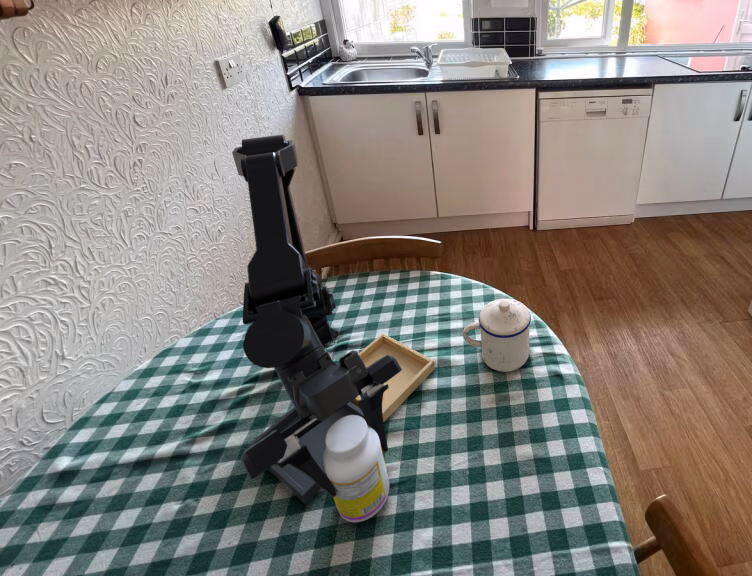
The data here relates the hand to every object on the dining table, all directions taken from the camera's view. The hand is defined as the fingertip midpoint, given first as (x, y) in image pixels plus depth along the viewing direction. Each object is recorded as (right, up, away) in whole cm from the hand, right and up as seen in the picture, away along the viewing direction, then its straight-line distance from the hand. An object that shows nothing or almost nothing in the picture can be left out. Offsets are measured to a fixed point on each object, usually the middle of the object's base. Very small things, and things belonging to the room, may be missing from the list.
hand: (361, 472), depth 50 cm
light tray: (-4, +2, +21) cm, 21 cm away
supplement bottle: (-1, -6, +4) cm, 7 cm away
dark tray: (-10, -2, +11) cm, 15 cm away
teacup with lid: (+16, +5, +25) cm, 30 cm away
